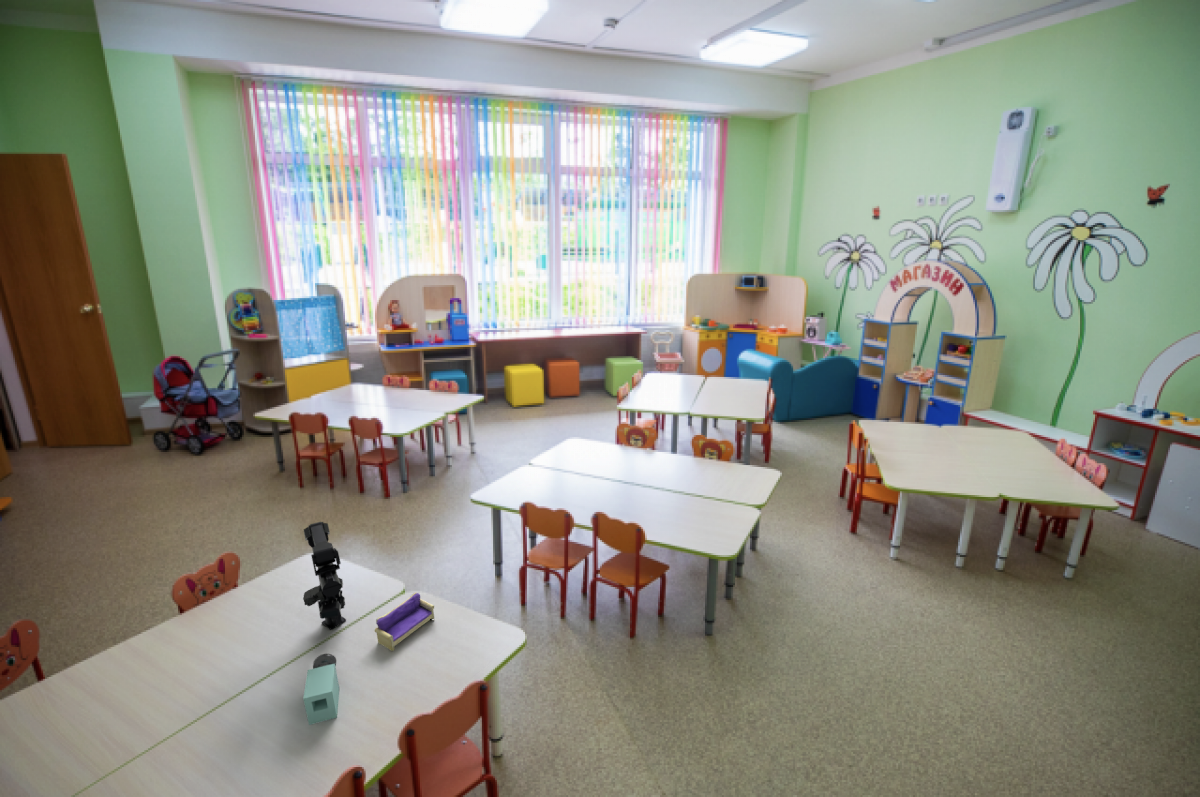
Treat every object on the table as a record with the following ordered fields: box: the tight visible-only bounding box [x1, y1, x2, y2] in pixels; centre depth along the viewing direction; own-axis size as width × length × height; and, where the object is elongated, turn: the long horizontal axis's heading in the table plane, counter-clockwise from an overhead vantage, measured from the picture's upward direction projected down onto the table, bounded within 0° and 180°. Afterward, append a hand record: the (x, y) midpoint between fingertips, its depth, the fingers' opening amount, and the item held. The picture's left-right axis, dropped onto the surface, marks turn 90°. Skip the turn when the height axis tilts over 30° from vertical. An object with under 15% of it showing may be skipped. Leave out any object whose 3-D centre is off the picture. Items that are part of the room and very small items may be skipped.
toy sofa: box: [374, 591, 435, 652], centre depth 214 cm, size 21×9×10 cm, turn 147°
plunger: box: [312, 653, 337, 669], centre depth 187 cm, size 12×7×7 cm, turn 20°
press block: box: [302, 664, 340, 726], centre depth 182 cm, size 12×8×10 cm, turn 20°
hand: (335, 617), depth 204 cm, fingers open, 4 cm apart
